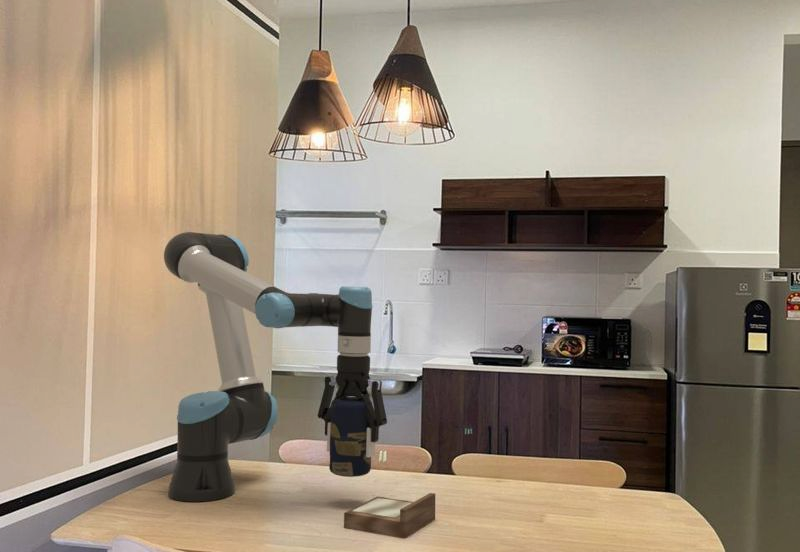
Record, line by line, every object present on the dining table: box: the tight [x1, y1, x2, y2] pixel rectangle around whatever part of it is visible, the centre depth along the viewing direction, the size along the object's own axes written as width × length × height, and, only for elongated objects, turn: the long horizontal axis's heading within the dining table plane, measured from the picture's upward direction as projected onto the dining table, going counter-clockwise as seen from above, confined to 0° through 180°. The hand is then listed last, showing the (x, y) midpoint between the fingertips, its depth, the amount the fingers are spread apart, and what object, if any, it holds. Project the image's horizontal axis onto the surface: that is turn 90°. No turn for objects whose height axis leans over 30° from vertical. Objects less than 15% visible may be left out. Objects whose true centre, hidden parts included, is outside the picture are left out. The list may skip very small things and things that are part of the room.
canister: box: [328, 395, 373, 478], centre depth 168 cm, size 10×10×18 cm
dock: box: [343, 492, 436, 539], centre depth 153 cm, size 14×14×5 cm
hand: (350, 453), depth 167 cm, fingers closed on canister, 10 cm apart
